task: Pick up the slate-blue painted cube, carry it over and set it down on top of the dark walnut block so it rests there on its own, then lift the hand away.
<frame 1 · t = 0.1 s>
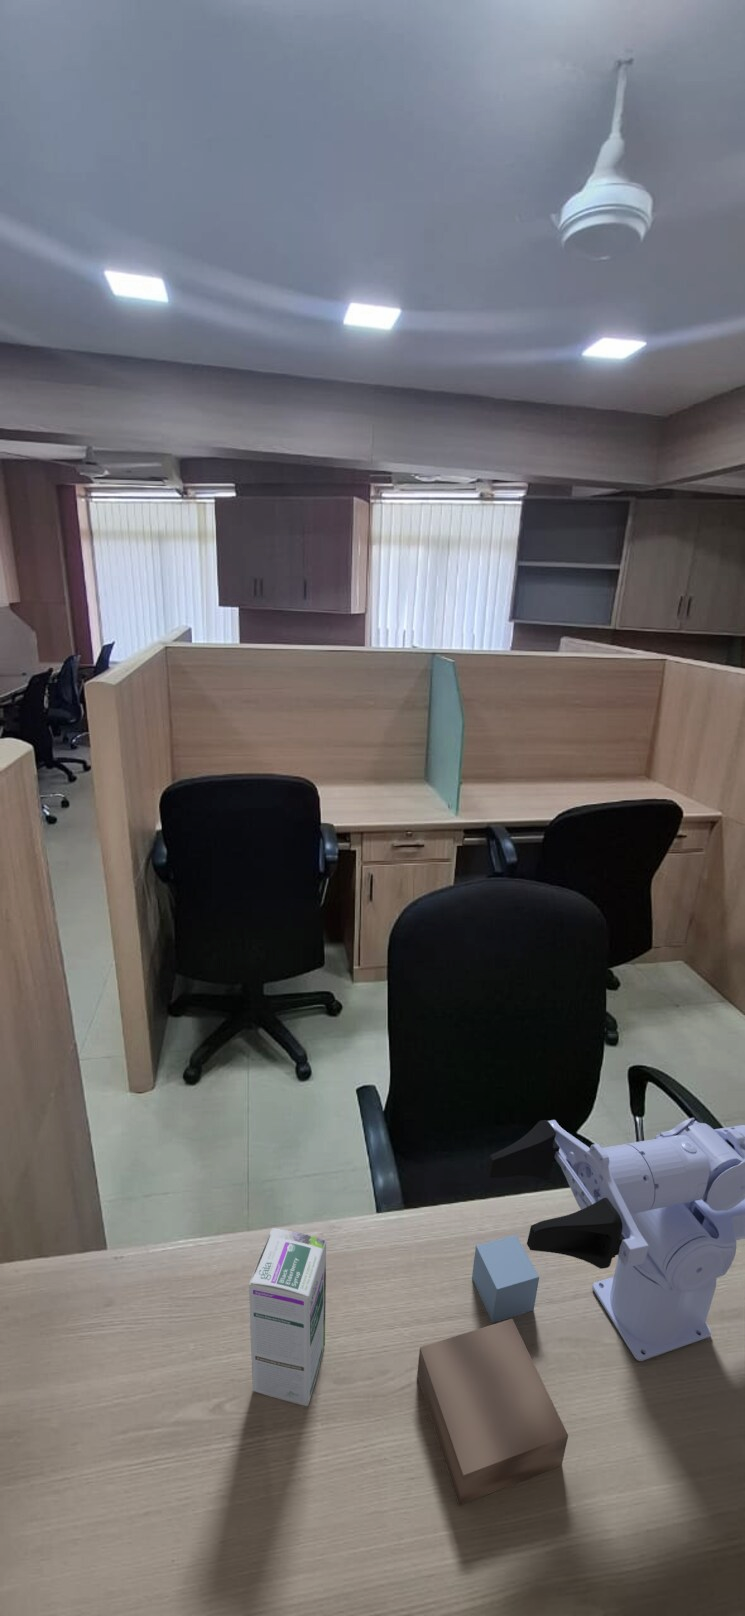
hand: (508, 1200, 58), 22 cm above the table, tool horizontal, fingers open, 7 cm apart
blue cube: (502, 1294, 72), on the table
syrup box: (288, 1369, 64), on the table
walnut block: (485, 1417, 61), on the table
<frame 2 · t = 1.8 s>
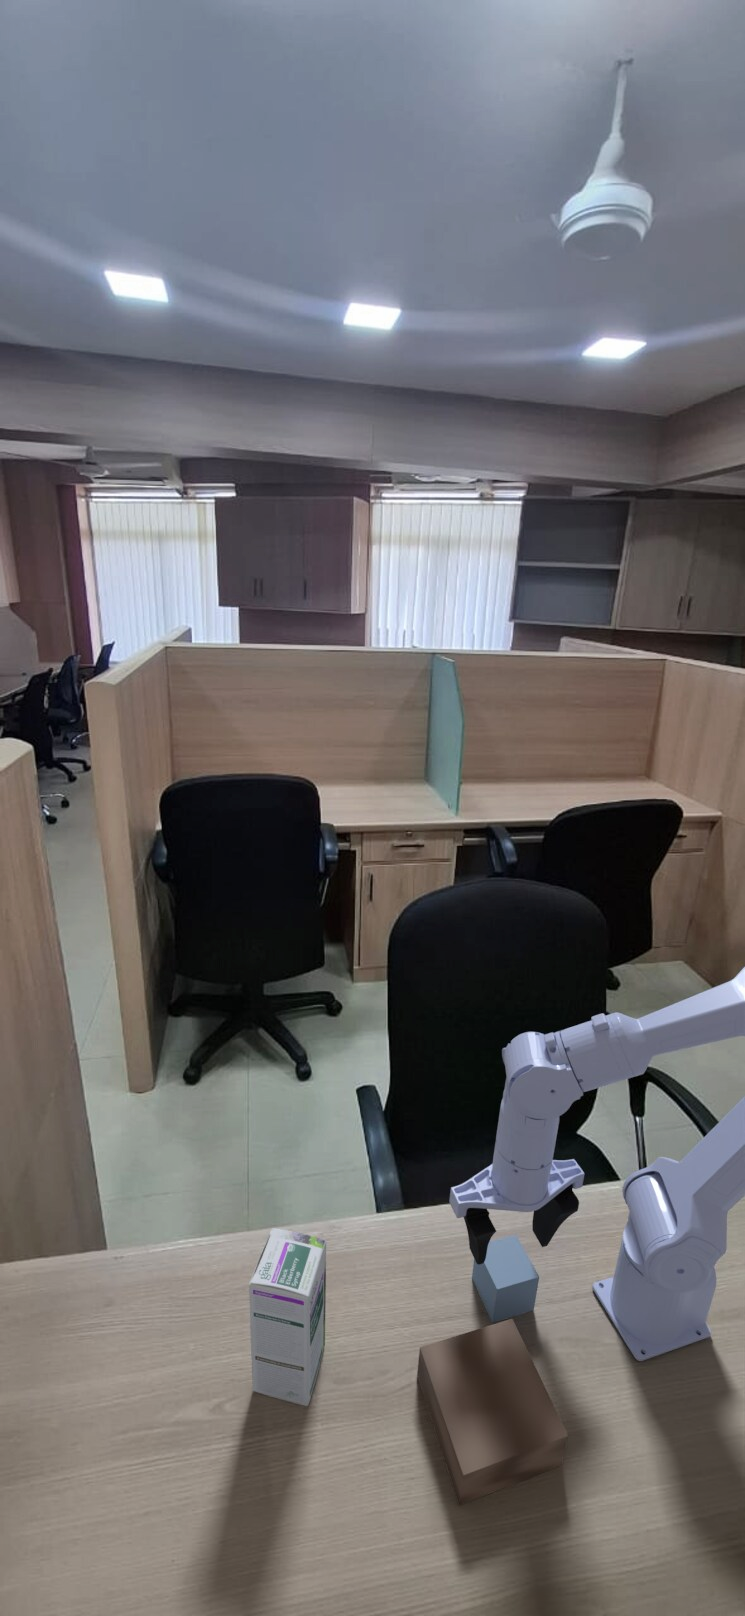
hand: (508, 1246, 70), 7 cm above the table, tool pointing down, fingers open, 7 cm apart
nothing on the table moved.
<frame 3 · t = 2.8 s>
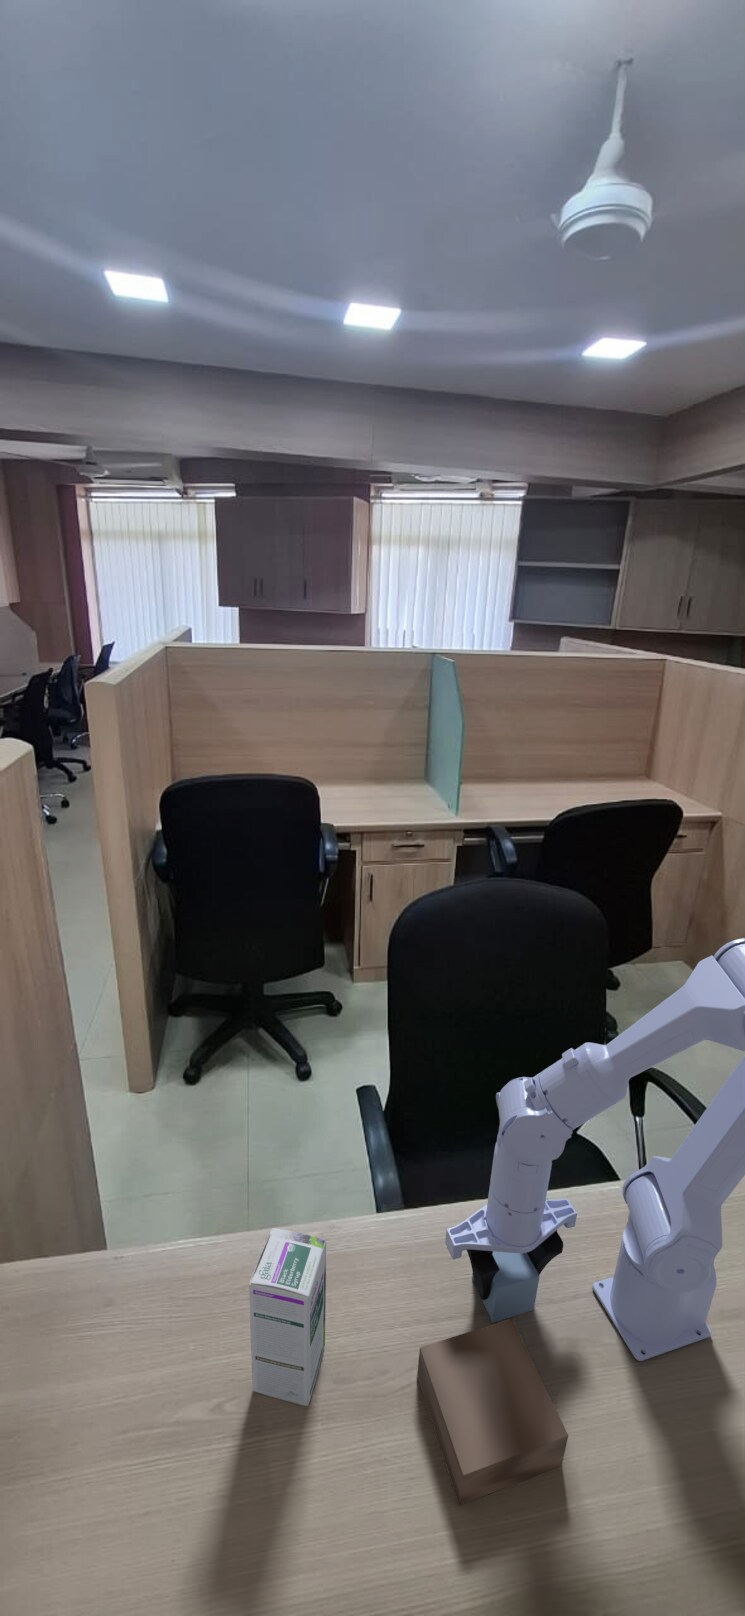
hand: (503, 1284, 72), 1 cm above the table, tool pointing down, fingers closed on blue cube, 5 cm apart
blue cube: (502, 1293, 72), on the table, touching gripper
everything else where it was.
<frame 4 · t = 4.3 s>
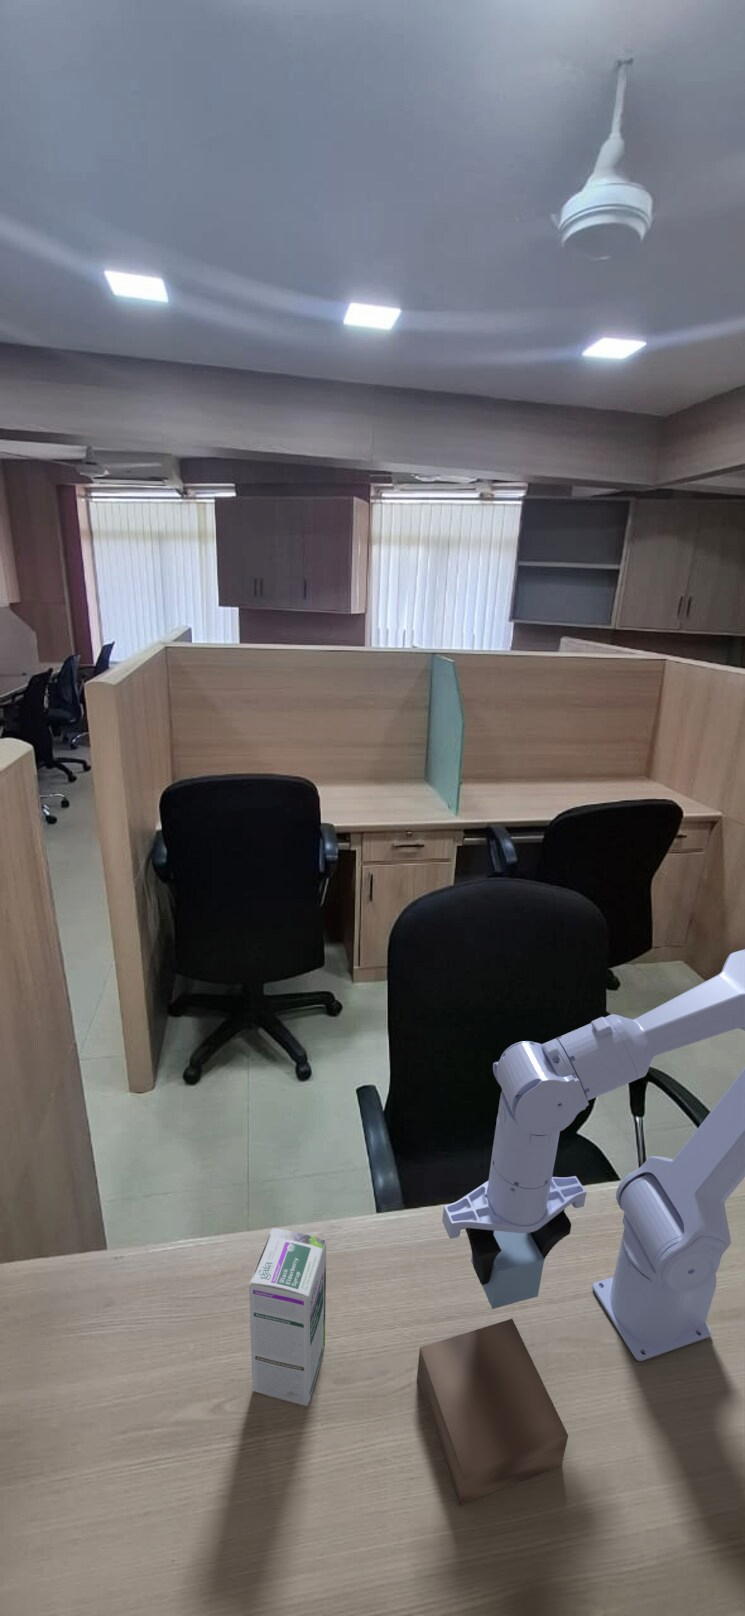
hand: (505, 1268, 66), 8 cm above the table, tool pointing down, fingers closed on blue cube, 5 cm apart
blue cube: (503, 1278, 67), point 7 cm above the table, touching gripper
everything else where it was.
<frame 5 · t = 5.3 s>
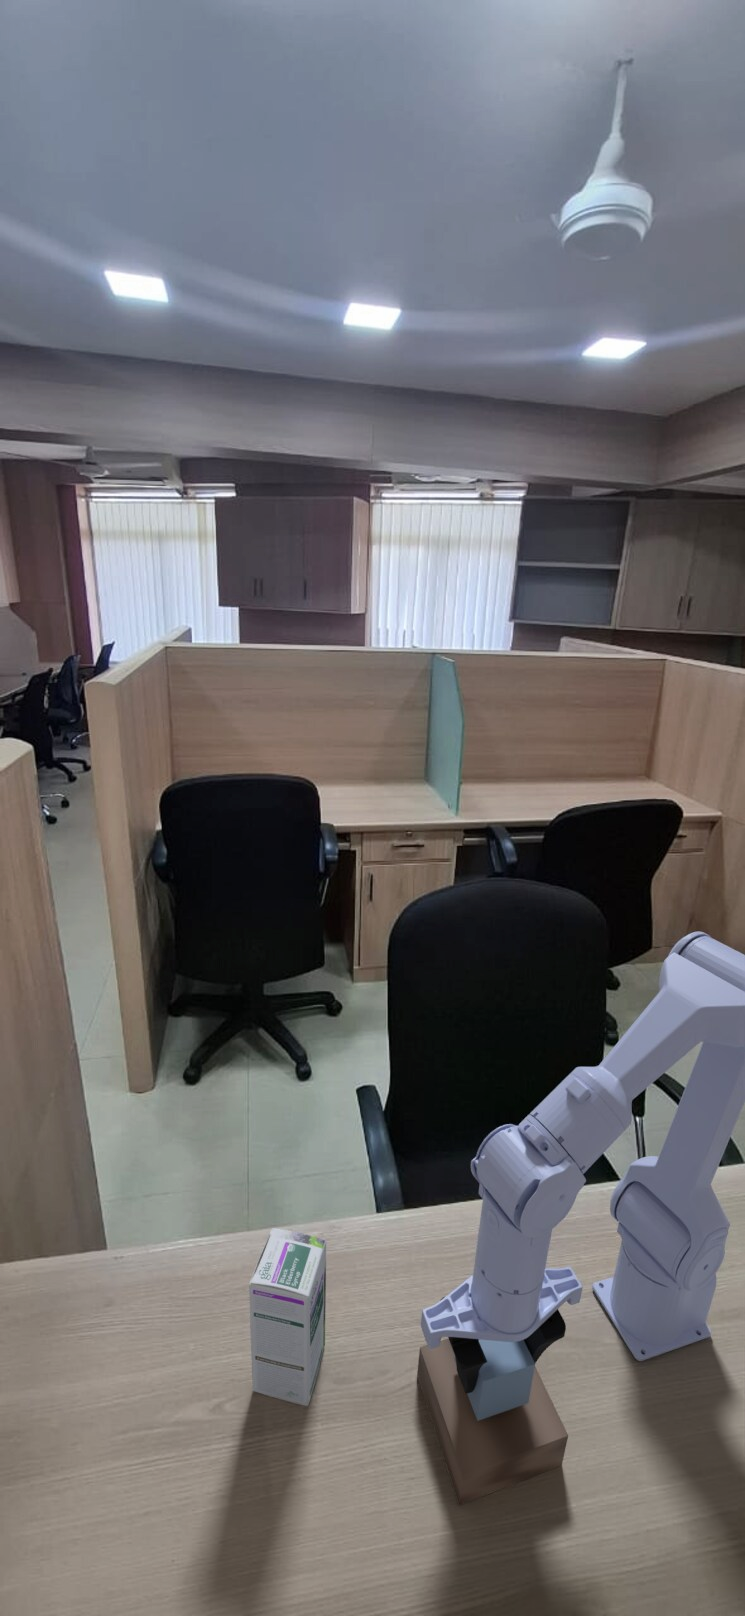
hand: (493, 1371, 59), 6 cm above the table, tool pointing down, fingers closed on blue cube, 5 cm apart
blue cube: (490, 1380, 59), point 5 cm above the table, touching gripper
everything else where it was.
when the fingers open (6 cm above the table, at t = 6.1 s): blue cube stays where it is, resting on walnut block.
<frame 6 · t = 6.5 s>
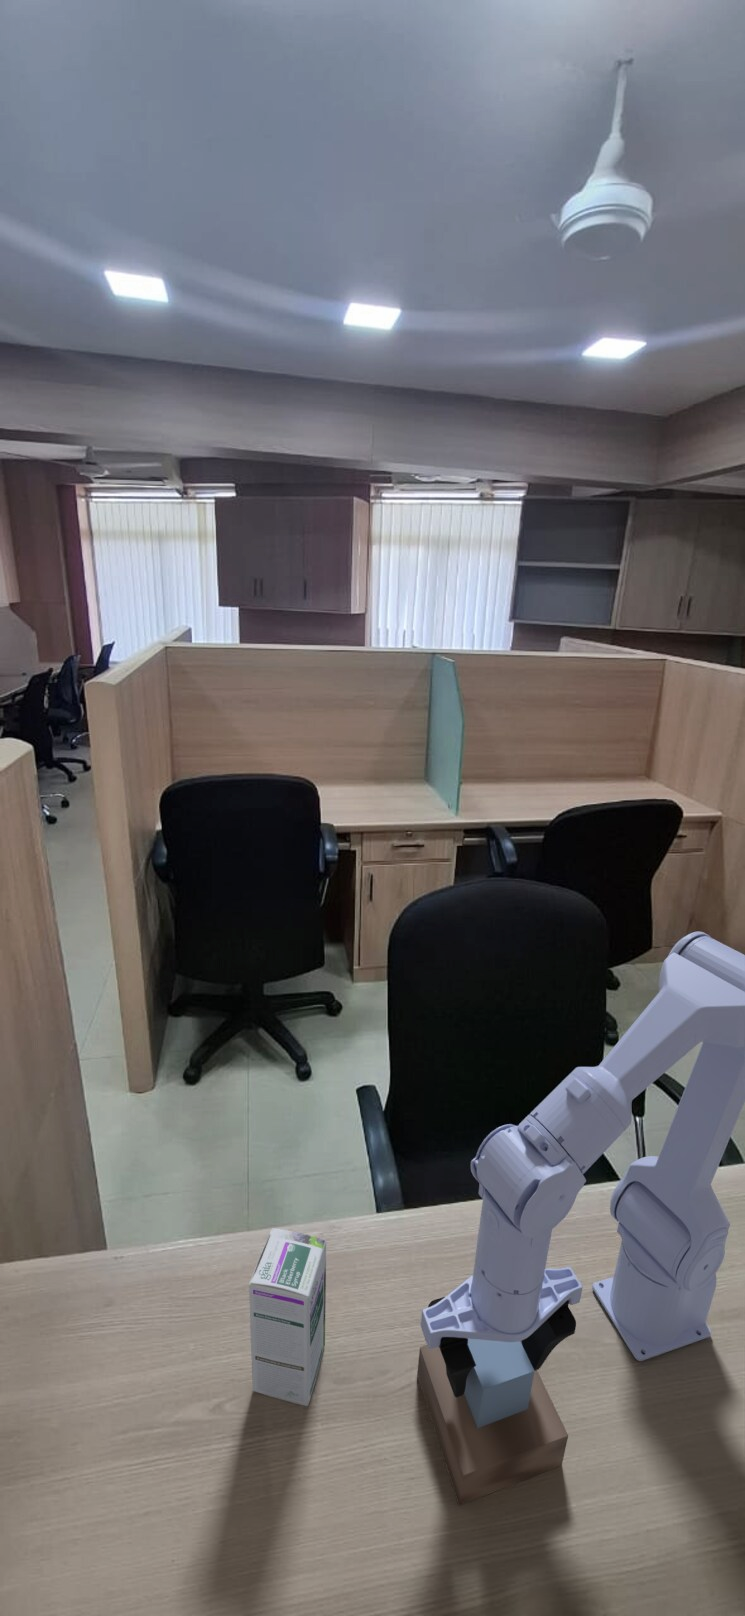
hand: (493, 1371, 59), 6 cm above the table, tool pointing down, fingers open, 7 cm apart
blue cube: (489, 1387, 60), point 4 cm above the table, touching walnut block
everything else where it was.
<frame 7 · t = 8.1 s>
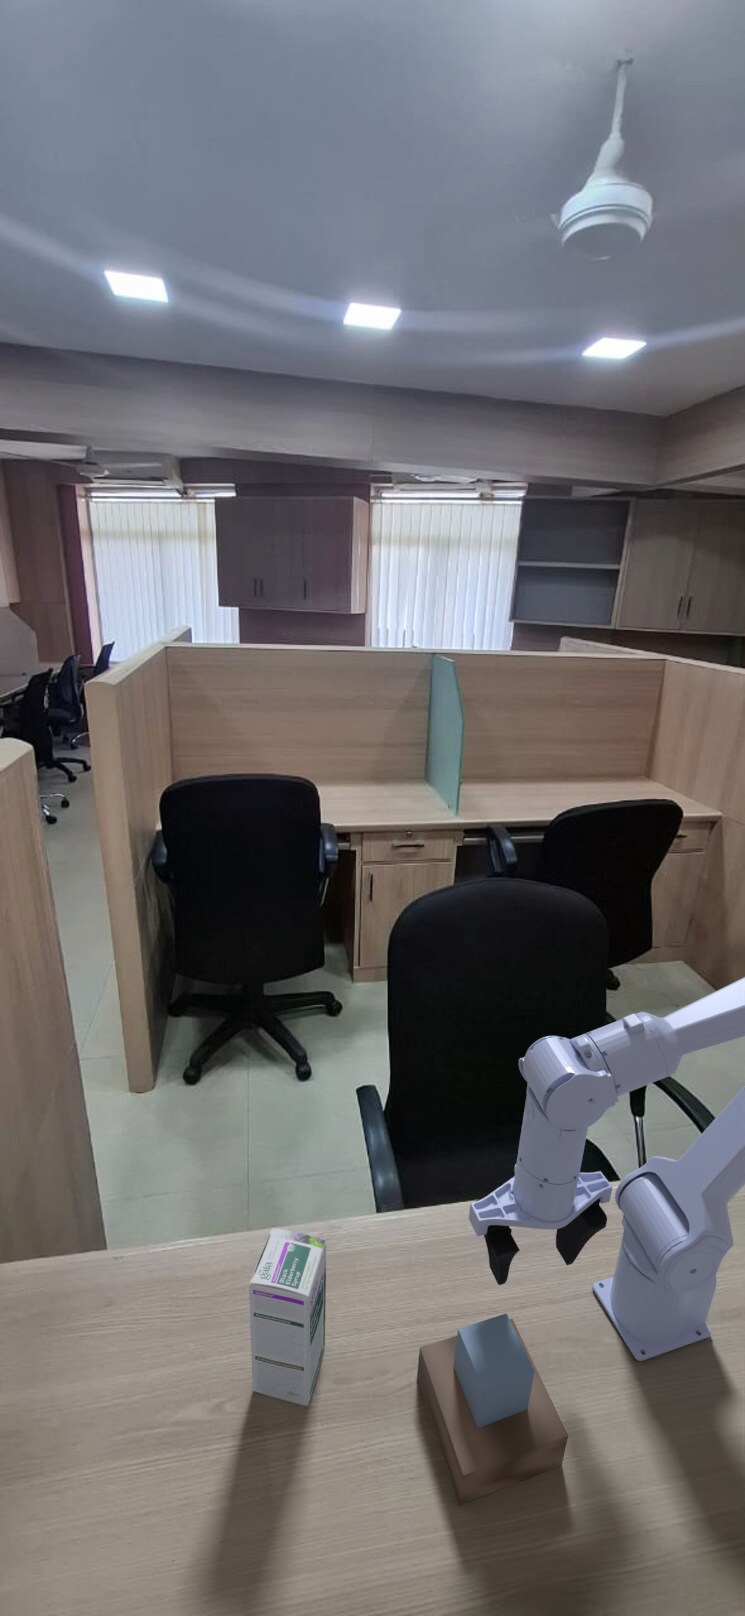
hand: (531, 1264, 65), 9 cm above the table, tool pointing down, fingers open, 7 cm apart
nothing on the table moved.
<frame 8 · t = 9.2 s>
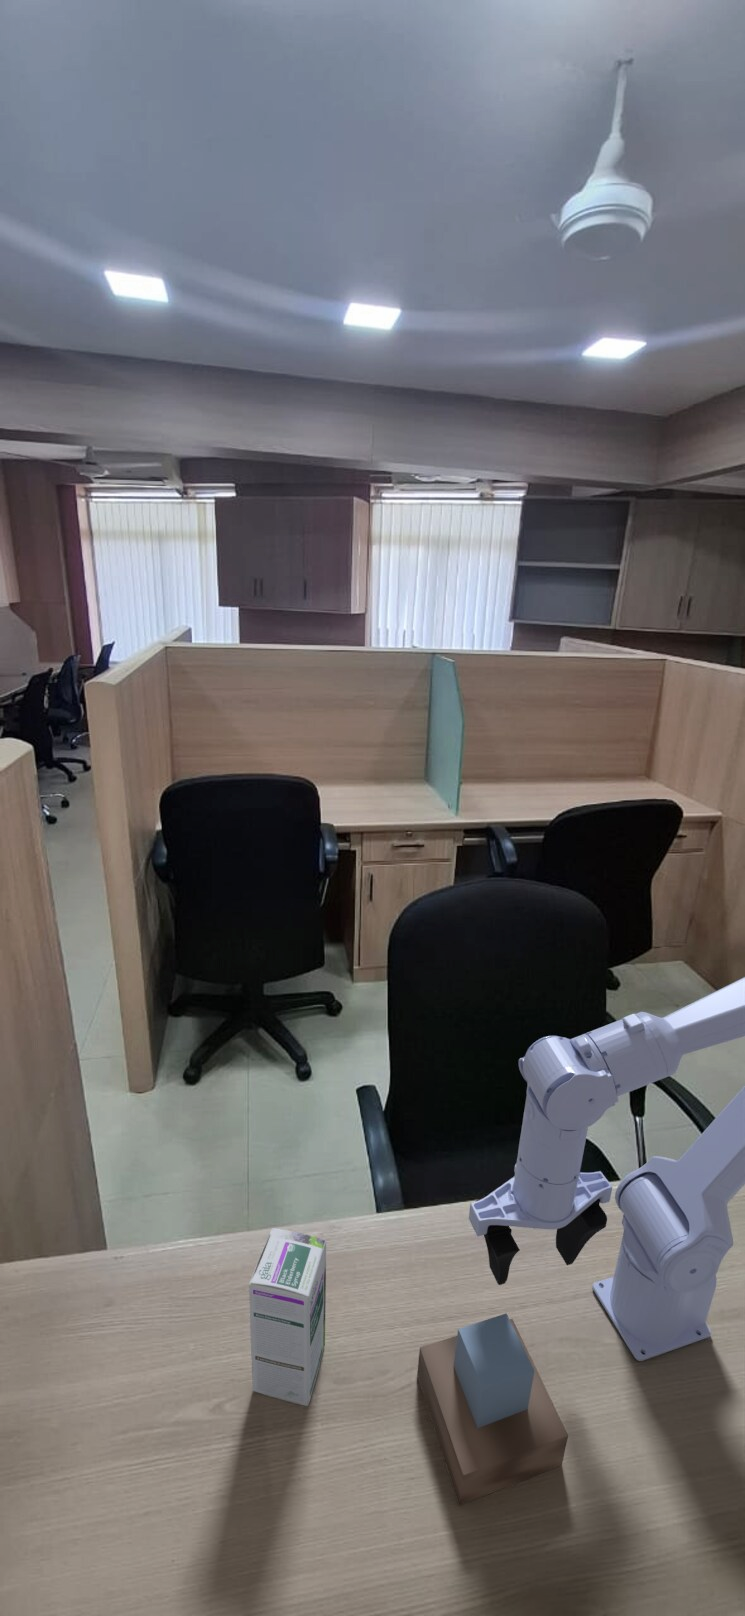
hand: (531, 1264, 65), 9 cm above the table, tool pointing down, fingers open, 7 cm apart
nothing on the table moved.
at the end: blue cube 0.2 cm off-centre on the walnut block, point 4.0 cm above the walnut block's base; blue cube tilted 0°; the gripper is holding nothing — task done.
